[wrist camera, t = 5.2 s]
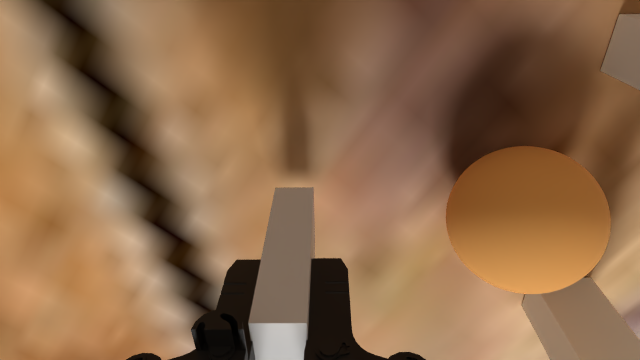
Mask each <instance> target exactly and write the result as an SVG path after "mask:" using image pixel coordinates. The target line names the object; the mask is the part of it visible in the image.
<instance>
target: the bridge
mask: <svg viewBox="0 0 640 360" xmlns="http://www.w3.org/2000/svg"><path fill="white" fill-rule="evenodd" d="M600 71H601V72H603V73H605V74H607V75H610V76H612V77H614V78H616V79H618V80H620V81H622V82H624V83H626V84H628V85H630V86H632V87H634V88H636V89H638V90H640V14H619V16H618V19H617V22H616V25H615V28H614V31H613V34H612V37H611V40H610V43H609V46H608V49H607V52H606V55H605V58H604V61H603V64H602V67H601V70H600ZM522 307H523V309H524V311H525V313H526V315H527V317H528V319H529V320H530V322H531V324H532V326H533V328H534V330H535V332H536V334H537V335H538V337H539V339H540V341H541V343H542V345H543V347H544V349H545V350H546V352H547V354H548V356H549V358H550V360H640V340H639V339H638V337H637V336H636V335H635V333H634V332H633V331H632V330H631V328H630V327H629V326H628V324H627V323H626V322H625V321H624V319H623V318H622V317H621V315H620V314H619V313H618V312H617V310H616V309H615V308H614V307H613V305H612V304H611V303H610V301H609V300H608V299H607V298H606V296H605V295H604V294H603V292H602V291H601V290H600V289H599V287H598V286H597V285H596V283H595V282H594V281H593V280H592V278H582V279H580V280H579V281H577V282H576V283H574V284H572V285H570V286H568V287H566V288H563V289H560V290H557V291H553V292H549V293H542V294H525V297H524V300H523V303H522Z"/></svg>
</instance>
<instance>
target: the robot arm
mask: <svg viewBox="0 0 640 360" xmlns="http://www.w3.org/2000/svg"><path fill="white" fill-rule="evenodd" d="M314 257H315V223H314V188H313V187H311V188H275V192H274V197H273V202H272V207H271V212H270V217H269V222H268V227H267V232H266V237H265V242H264V247H263V252H262V257H261V260H236V261H235V262H234V264H233V265H232V266H231V267H230V268H229V269H228V271H227V274H226V277H225V281H224V285H223V288H222V291H221V295H220V298H219V301H218V305H217V308H216V310H214V311H211V312H209V313H206V314H204V315H203V316H201V317H200V318H199V319H198V320H197V321H196V322H195V323H194V325H193V327H192V329H191V332H192V335H193V339H194V343H195V347H196V349H195V350H193V351H192V352H190V353H188V354H185V355H183V356H180V357H176V358H173V359H169V360H426V359H424V358H423V357H421V356H420V355H418V354H414V353H411V352H399V353H396V354H394V355H392V356H390V357H389V358H388V359H386V358H383V357H380V356H377V355H374V354H371V353H369V352H367V351H365V350H364V349H363V348H361V347H360V346H359V345H358V343H357V342H356V341H355V339H354V337H353V333H352V326H351V311H350V296H349V281H348V269H347V267H346V266H345V264H344V263H343V261H342V259H341V258H317V259H314ZM127 360H161V358H160V357H159V356H157V355H154V354H152V353H141V354H138V355H134V356H132V357H130V358H128V359H127Z"/></svg>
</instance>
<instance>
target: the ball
mask: <svg viewBox="0 0 640 360" xmlns="http://www.w3.org/2000/svg"><path fill="white" fill-rule="evenodd" d="M446 224H447V231H448V235H449V238H450V241H451V244H452V246H453V248H454V250H455V252H456V253H457V255H458V256H459V258H460V259H461V261H462V262H463V263H464V264H465V265H466V266H467V268H468V269H470V270H471V271H472V272H473V273H474V274H475V275H477V276H478V277H480V278H481V279H482V280H484V281H485V282H487V283H489V284H491V285H493V286H495V287H498V288H500V289H503V290H507V291H511V292H515V293H522V294H542V293H549V292H553V291H557V290H560V289H563V288H566V287H568V286H570V285H572V284H574V283H576V282H577V281H579V280H580V279H582V278H583V277H584V276H586V275H587V274H588V273H589V272H590V271H591V270H592V269H593V268H594V267H595V266H596V264H597V263H598V262H599V261H600V259H601V257H602V256H603V254H604V252H605V250H606V247H607V244H608V241H609V237H610V230H611V215H610V210H609V205H608V202H607V199H606V197H605V194H604V192H603V191H602V189H601V187H600V185H599V184H598V182H597V181H596V180H595V178H594V177H593V176H592V175H591V174H590V173H589V172H588V171H587V170H586V169H585V168H584V167H583V166H581V165H580V164H579V163H577V162H576V161H574V160H573V159H571V158H569V157H568V156H566V155H564V154H561V153H559V152H556V151H554V150H550V149H546V148H541V147H534V146H516V147H509V148H504V149H500V150H497V151H494V152H492V153H489V154H487V155H485V156H483V157H481V158H480V159H478V160H477V161H475V162H474V163H473V164H471V165H470V166H469V167H468V168H467V169H466V170H465V171H464V172H463V173H462V174H461V175H460V177H459V178H458V180H457V181H456V183H455V185H454V186H453V188H452V191H451V193H450V196H449V199H448V203H447V209H446Z"/></svg>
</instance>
